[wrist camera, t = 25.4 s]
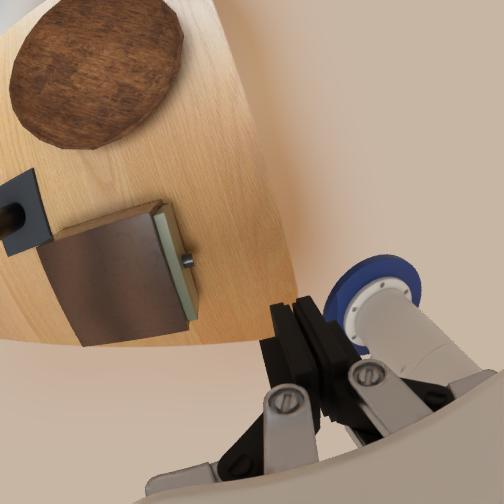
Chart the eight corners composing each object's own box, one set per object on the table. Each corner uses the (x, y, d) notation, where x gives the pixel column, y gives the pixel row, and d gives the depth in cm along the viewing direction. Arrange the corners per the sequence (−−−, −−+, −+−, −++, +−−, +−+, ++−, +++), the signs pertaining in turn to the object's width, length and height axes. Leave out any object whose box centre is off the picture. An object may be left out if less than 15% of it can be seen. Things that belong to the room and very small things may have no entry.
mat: (53, 239, 31) (51, 240, 30) (9, 255, 30) (7, 257, 30) (33, 167, 27) (31, 168, 26) (-10, 192, 26) (-12, 193, 26)
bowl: (127, 178, 30) (113, 183, 25) (10, 110, 23) (-12, 109, 18) (221, 37, 25) (222, 20, 20) (87, -12, 19) (74, -27, 14)
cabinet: (161, 199, 31) (149, 211, 25) (192, 300, 36) (188, 330, 30) (61, 230, 30) (35, 247, 24) (97, 318, 35) (82, 347, 29)
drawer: (181, 200, 31) (176, 209, 26) (208, 296, 35) (208, 317, 31) (72, 232, 30) (55, 245, 25) (107, 316, 35) (96, 337, 30)
